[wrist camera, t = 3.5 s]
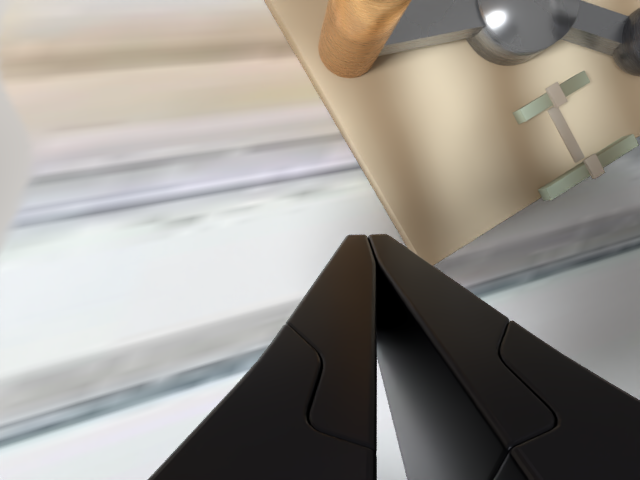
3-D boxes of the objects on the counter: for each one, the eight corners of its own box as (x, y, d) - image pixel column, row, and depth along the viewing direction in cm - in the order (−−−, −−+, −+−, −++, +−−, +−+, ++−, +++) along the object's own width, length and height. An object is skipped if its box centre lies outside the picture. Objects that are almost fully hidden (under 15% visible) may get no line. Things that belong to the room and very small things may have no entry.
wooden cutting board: (423, 274, 20) (436, 278, 18) (237, -45, 19) (234, -73, 17) (675, 115, 21) (710, 105, 20) (518, -195, 20) (541, -235, 18)
